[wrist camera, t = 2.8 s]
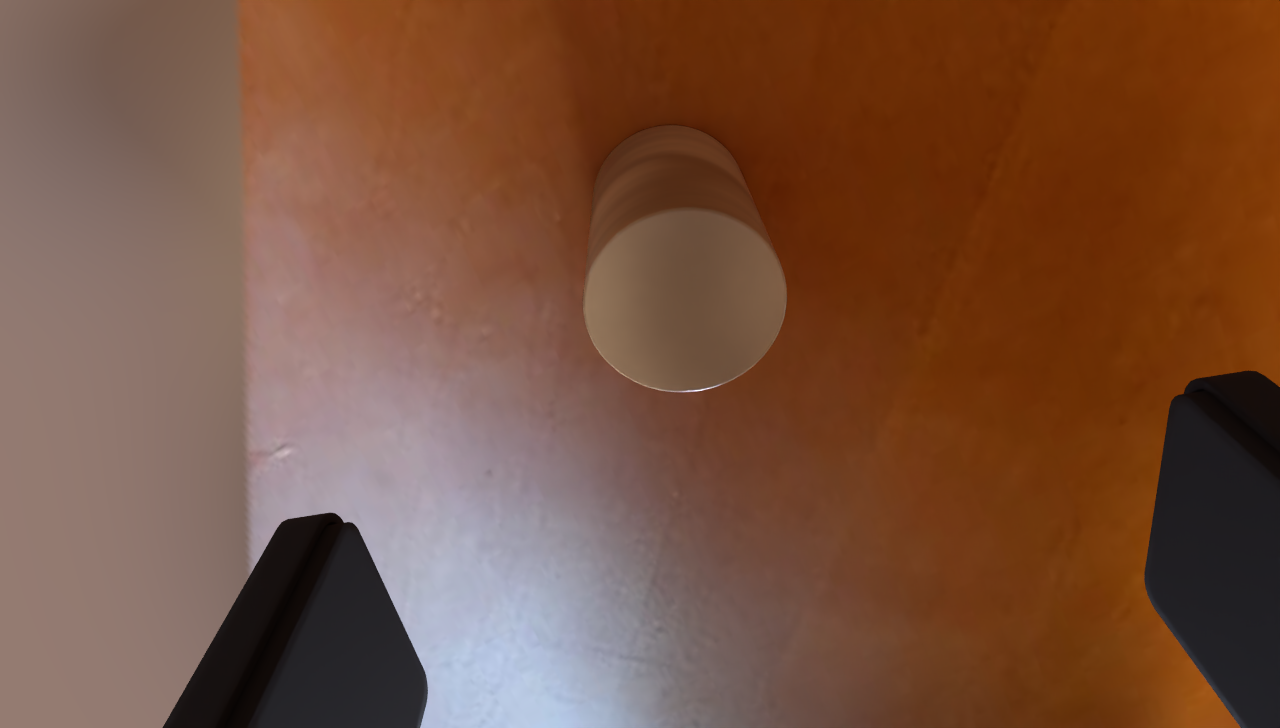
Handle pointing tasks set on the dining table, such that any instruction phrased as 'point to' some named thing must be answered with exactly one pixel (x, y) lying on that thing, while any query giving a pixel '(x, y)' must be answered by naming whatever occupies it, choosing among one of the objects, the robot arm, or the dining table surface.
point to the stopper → (679, 264)
